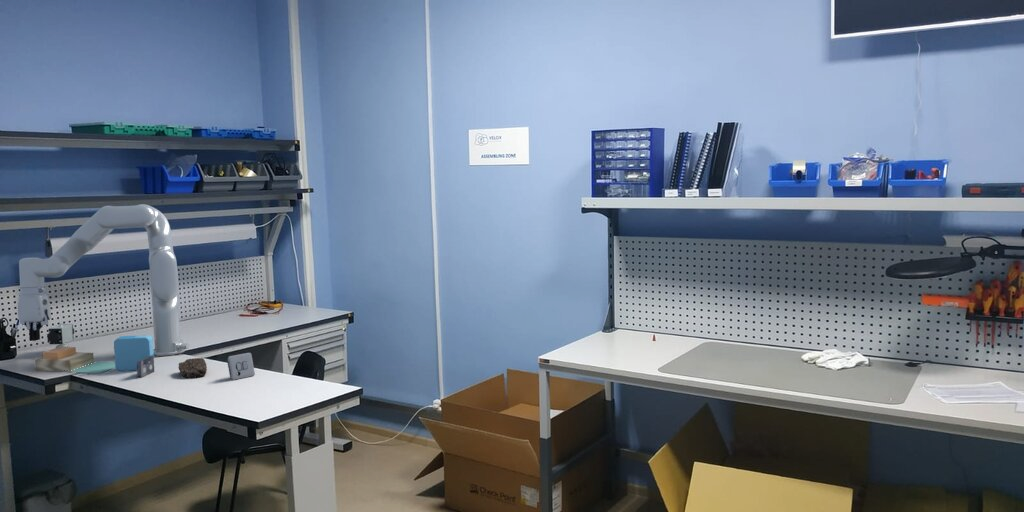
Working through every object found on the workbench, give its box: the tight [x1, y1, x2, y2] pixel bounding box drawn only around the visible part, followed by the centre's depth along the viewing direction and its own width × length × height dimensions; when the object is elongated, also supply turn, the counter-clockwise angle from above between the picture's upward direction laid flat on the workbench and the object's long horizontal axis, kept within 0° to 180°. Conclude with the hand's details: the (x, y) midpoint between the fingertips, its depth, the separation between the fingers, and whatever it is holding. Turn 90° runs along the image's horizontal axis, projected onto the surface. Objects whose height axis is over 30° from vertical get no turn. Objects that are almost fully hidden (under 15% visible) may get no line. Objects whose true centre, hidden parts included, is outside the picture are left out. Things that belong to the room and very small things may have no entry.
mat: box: [69, 360, 116, 374], centre depth 269 cm, size 12×15×1 cm
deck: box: [34, 351, 95, 372], centre depth 271 cm, size 14×12×4 cm
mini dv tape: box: [136, 355, 155, 379], centre depth 259 cm, size 8×2×6 cm, turn 176°
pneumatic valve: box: [46, 323, 75, 348], centre depth 292 cm, size 6×12×12 cm, turn 4°
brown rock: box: [178, 357, 208, 379], centre depth 260 cm, size 12×10×5 cm
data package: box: [113, 334, 155, 372], centre depth 267 cm, size 12×4×12 cm, turn 101°
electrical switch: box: [226, 352, 256, 381], centre depth 256 cm, size 8×5×8 cm, turn 137°
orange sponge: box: [42, 346, 77, 359], centre depth 271 cm, size 6×9×2 cm, turn 173°
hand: (34, 340), depth 271 cm, fingers closed
